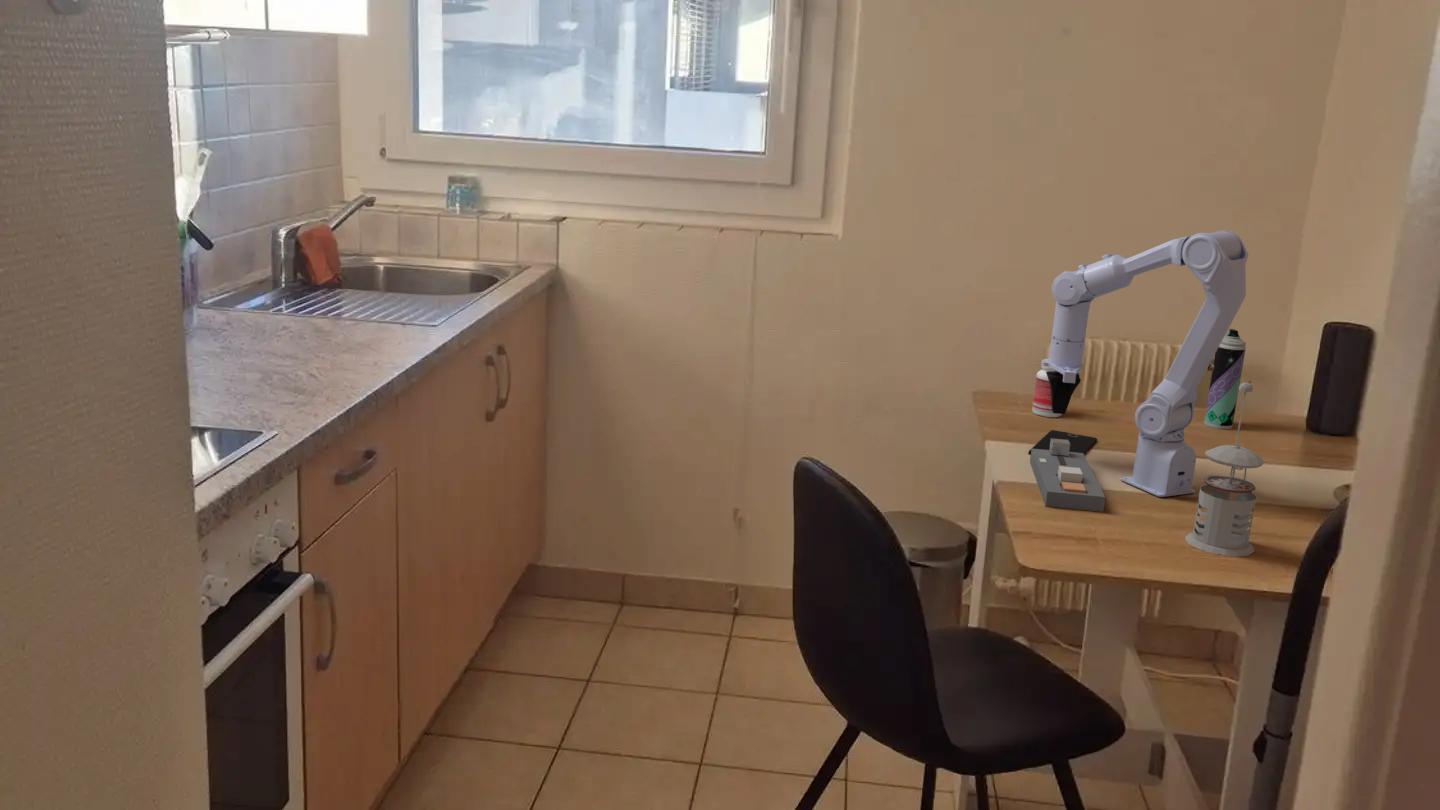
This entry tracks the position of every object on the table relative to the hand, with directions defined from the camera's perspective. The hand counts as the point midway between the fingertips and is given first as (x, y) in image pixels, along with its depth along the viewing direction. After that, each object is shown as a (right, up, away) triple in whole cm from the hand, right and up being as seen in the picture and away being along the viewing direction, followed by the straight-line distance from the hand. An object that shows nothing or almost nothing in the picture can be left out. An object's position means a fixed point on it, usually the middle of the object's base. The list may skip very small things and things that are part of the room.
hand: (1058, 412), depth 224 cm
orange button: (-4, -14, -22) cm, 26 cm away
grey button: (-3, -12, -18) cm, 21 cm away
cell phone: (+3, -7, +9) cm, 12 cm away
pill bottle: (+6, -1, +32) cm, 33 cm away
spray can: (+41, -3, +30) cm, 51 cm away
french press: (+15, -20, -36) cm, 43 cm away
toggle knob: (-1, -7, -4) cm, 8 cm away
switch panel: (-3, -12, -13) cm, 18 cm away
